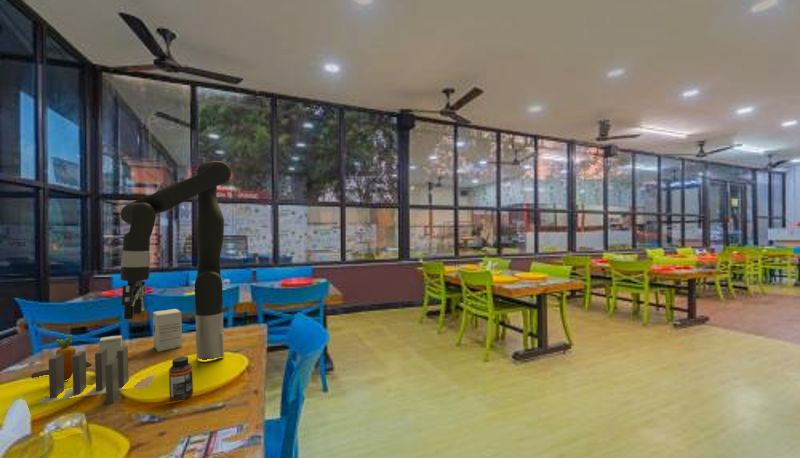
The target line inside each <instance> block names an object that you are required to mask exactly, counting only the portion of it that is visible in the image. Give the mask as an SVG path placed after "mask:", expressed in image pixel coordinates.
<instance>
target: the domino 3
mask: <svg viewBox="0 0 800 458" xmlns="http://www.w3.org/2000/svg"><path fill="white" fill-rule="evenodd" d="M105 372H106V393H105V398H106V399H105V402H106V405H111V404H114V403H115V402H116V400H118V398H119V396H120V392H119V383H118V359H111V360H110V361H109V362H108V363H107V364H106V365H105Z"/></svg>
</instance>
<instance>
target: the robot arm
mask: <svg viewBox="0 0 800 458" xmlns="http://www.w3.org/2000/svg"><path fill="white" fill-rule="evenodd" d="M231 177H232V169H231V168H230V166H229V164H227V163H226V162H224V161H221V160H220V161H219V160H212V161H205V162H202V163H200V164H199V165H198V167H197V169H196V175H194V176H191V177H189V178H186V179H183V180H180V181H177V182H175V183H173V184H169V185H167V186H165V187H163V188H161V189H159V190H157V191H155V192H153V193H152V194H150V195H147V196H144V197H141V198H139V199H136V200H133V201H131V202H129V203H128V204H126V205H124V206H123V207H122V209H121V211H120V219H121V220H122V221H123V222H124V223H126V224H128V225H130V228H129V231H128V232H126V233H125V234H124V236H123V241H122V242H123V243H122V254H121V261H120V262H121V263H120V278H119V279H120V281H123V282H126V283H127V284H126V285H123V286H122V296H121V306H123V307H124V310H123V311H124V316H123V318H124V320H133V318H134V315H139V314H141V313H142V311H143V308H142V306H143V305H142V304H143V301H144V300H145V298H146V294H145V293H146V281H147V280H149V279H150V270H151V269H150V267H151V266H150V265H151V253H150V252H151V251H150V250H151V247H150V246H151V237H152V233H153V230H154V227H155V223H156V220H157V219H156V215H157V214H160V213H165V212H167V211H170V210H172V209H173V208H175V207H177V206H178V205H181V204H182V203H185V202H186V201H187V200H189V199H192V198H193V197H195V196H197V197H198V198H197V199H198V200H197V221H196V223H197V224H196V243H197V250H198V266H197V273H196V277H195V280H194V309H195V341H196V342H195V343H196V344H195V346H196V348H195V350H196V359H197V358H199V359H202V360H207V359H214V358H219V357H223V356H225V336H224V334H225V332H224V312H223V311H224V310H223V309H224V308H223V307H224V301H223V298H224V297H223V295H224V293H223V279H222V275H221V273H222V272H221V253H222V248H223V244H224V243H223V242H224V234H225V233H224V232H225V220H224V216H223V212H222V210H221V208H220V206H219V203H218V199H217V196H218V195H217V193H218V192H217V190H218V189H217V188H218V186H221V185H225V184H226V183H228V182H229V181H230V179H231Z"/></svg>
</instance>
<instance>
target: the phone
mask: <svg viewBox="0 0 800 458" xmlns="http://www.w3.org/2000/svg"><path fill="white" fill-rule="evenodd" d="M91 366H92V363H90V362H88V361H87V360H86V368H88V367H91ZM31 375H32V377H33V378H34V377H39V376H43V375H49V369H44V370H40V371H38V372H34V373H32V374H31Z"/></svg>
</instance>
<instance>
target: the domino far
mask: <svg viewBox="0 0 800 458" xmlns="http://www.w3.org/2000/svg"><path fill="white" fill-rule="evenodd" d="M48 370H49V376H48V380H49V381H48V383H49V384H48V385H49V394H50V398H56V397H57V396H58V395H59V394H60V393H62V392H63V391H64V388H65V381H64V360H63V353H62V354H56V353H55V355H53V356H52V357H50V358H49V359H48Z"/></svg>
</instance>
